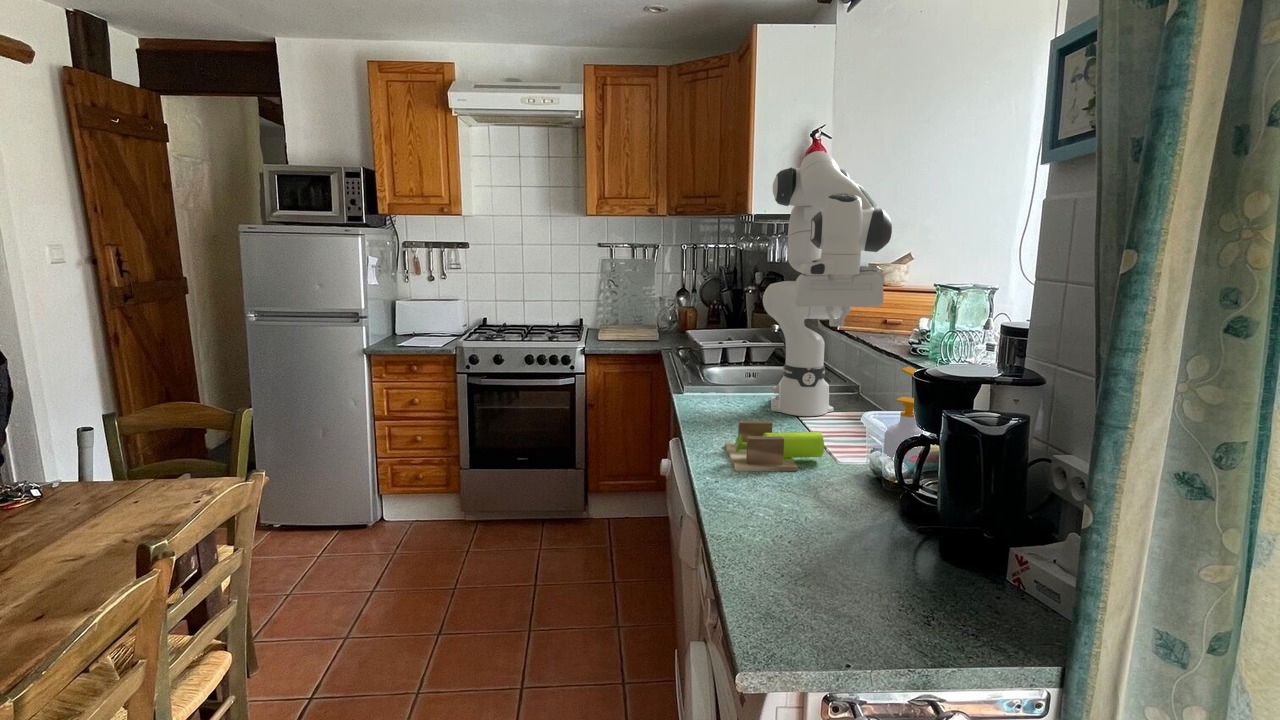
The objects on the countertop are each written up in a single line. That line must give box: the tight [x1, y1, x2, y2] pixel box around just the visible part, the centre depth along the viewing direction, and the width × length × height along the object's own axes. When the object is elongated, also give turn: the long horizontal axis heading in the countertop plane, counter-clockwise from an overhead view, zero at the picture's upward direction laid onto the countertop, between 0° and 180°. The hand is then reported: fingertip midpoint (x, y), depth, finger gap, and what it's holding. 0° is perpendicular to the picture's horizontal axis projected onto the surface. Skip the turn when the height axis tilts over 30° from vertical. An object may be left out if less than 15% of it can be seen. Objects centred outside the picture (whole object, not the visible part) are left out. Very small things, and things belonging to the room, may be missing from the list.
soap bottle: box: [883, 366, 923, 462], centre depth 145 cm, size 9×9×25 cm
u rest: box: [724, 420, 799, 472], centre depth 160 cm, size 18×14×7 cm
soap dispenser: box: [734, 431, 825, 459], centre depth 157 cm, size 6×7×20 cm
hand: (836, 325), depth 158 cm, fingers closed
